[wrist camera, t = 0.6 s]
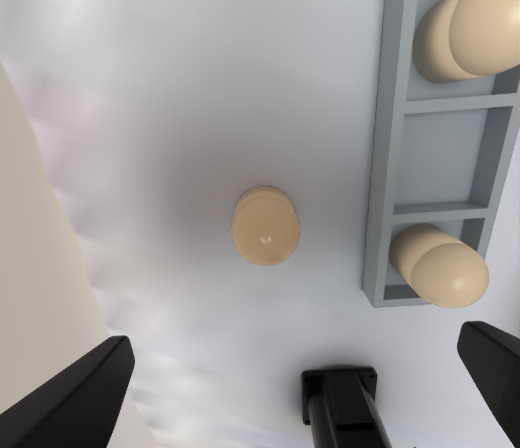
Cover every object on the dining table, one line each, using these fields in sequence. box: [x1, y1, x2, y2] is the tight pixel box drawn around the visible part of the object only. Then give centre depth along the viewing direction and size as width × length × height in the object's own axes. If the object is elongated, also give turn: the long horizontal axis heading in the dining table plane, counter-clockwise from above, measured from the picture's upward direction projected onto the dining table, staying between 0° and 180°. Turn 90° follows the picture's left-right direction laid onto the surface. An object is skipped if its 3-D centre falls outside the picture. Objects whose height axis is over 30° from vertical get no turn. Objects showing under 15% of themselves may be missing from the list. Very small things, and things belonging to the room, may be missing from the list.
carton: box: [362, 0, 520, 308], centre depth 15 cm, size 19×7×6 cm, turn 4°
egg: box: [231, 186, 300, 266], centre depth 16 cm, size 4×4×5 cm
